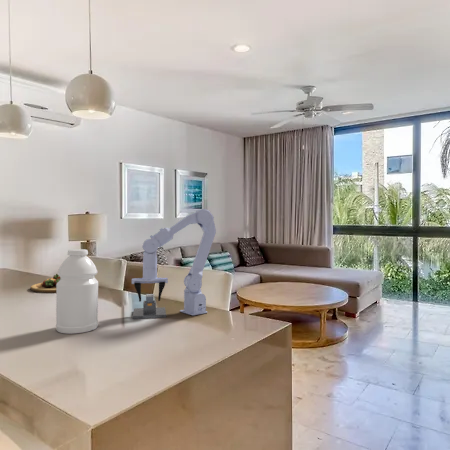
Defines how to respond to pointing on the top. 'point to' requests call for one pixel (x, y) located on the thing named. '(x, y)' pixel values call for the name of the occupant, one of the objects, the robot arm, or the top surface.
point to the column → (149, 298)
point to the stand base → (149, 311)
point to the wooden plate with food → (46, 285)
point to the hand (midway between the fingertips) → (149, 300)
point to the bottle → (77, 294)
